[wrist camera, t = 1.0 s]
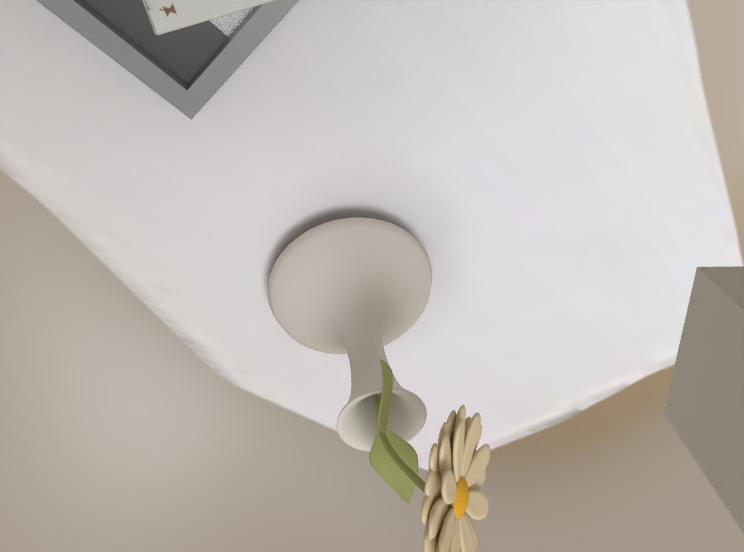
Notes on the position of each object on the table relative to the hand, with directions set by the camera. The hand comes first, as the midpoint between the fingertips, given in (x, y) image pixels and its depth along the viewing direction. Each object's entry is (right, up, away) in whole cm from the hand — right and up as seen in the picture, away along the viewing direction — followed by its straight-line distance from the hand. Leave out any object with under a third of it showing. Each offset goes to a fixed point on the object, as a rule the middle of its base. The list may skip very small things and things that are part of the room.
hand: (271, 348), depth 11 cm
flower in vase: (0, +2, +38) cm, 38 cm away
